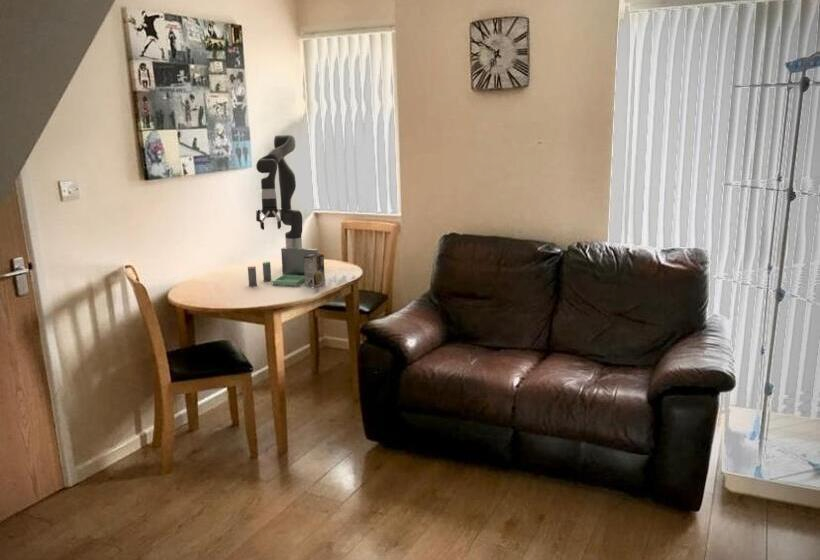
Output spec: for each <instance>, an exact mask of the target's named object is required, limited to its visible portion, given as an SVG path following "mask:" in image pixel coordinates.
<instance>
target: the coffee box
mask: <svg viewBox="0 0 820 560" xmlns="http://www.w3.org/2000/svg"><path fill="white" fill-rule="evenodd" d="M324 257H325V256H324V254H322V253H319V252H318V253H313V254H310V255H307V256H304V269H305V282H304V284H305V285H304V286H305V287H306V286H307V287H306V288H312V287H313V288H312V289H315V288H318V287H321V286H322V285H326V275H325V259H324Z"/></svg>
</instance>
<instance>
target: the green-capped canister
mask: <svg viewBox="0 0 820 560" xmlns="http://www.w3.org/2000/svg"><path fill="white" fill-rule="evenodd" d="M271 267H272V266H271V261H262V273H263V274H262V275H263V281H264V280H265V281H264V282H271V281H272V272H271V271H272V269H271ZM270 280H271V281H270Z"/></svg>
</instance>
